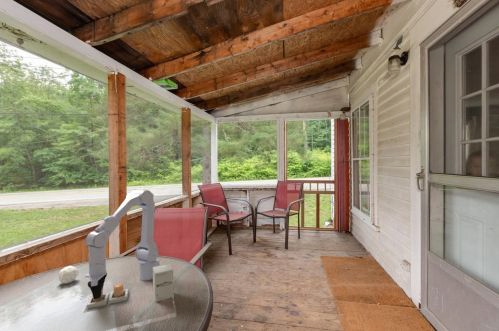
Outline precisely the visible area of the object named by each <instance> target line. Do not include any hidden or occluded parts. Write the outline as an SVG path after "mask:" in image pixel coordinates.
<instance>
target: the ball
mask: <svg viewBox="0 0 499 331" xmlns="http://www.w3.org/2000/svg"><path fill="white" fill-rule="evenodd" d="M78 275H79V269H77V267H75V266H72V265H69V266H65V267H64V268H62V269H60V271H59V272H58V274H57V276H58V277H57V278H58V281H59V282H60V283H61V284H65V285H67V284H71V283H73V282H74V281H75V280H76V279H77V277H78Z"/></svg>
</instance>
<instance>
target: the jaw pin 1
mask: <svg viewBox="0 0 499 331" xmlns="http://www.w3.org/2000/svg"><path fill="white" fill-rule="evenodd" d="M103 292H104V286H102V293H101V297H100V298H99V299H94V298H93V302H98V301H101V300H102V299H103V294H104V293H103Z"/></svg>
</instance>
